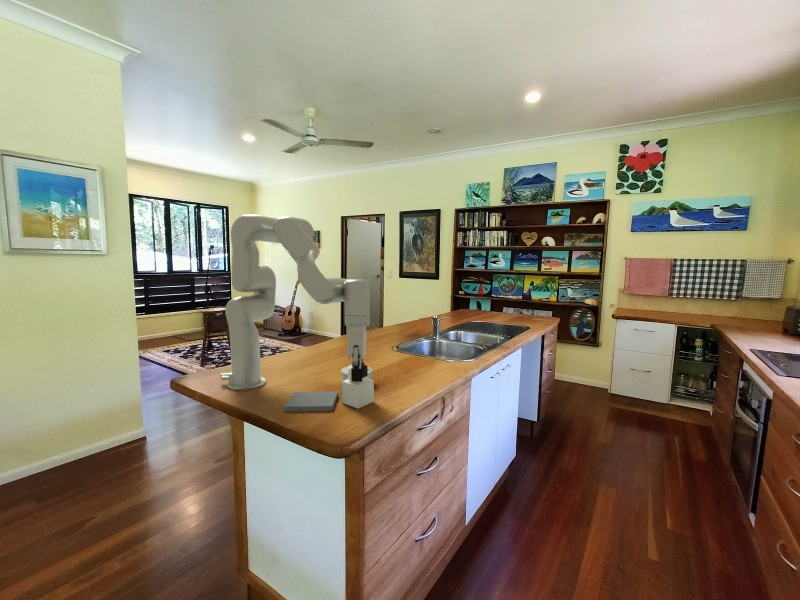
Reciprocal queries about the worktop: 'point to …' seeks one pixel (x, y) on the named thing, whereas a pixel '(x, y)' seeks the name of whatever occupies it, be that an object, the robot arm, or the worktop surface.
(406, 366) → the worktop surface
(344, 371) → the ramekin
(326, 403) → the rubber mat
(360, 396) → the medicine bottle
